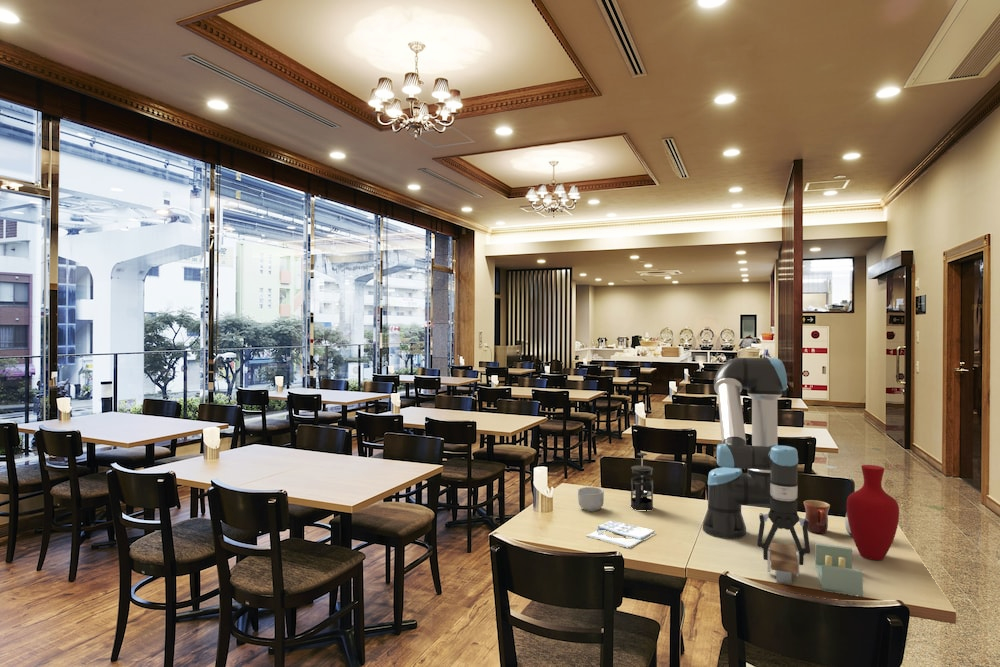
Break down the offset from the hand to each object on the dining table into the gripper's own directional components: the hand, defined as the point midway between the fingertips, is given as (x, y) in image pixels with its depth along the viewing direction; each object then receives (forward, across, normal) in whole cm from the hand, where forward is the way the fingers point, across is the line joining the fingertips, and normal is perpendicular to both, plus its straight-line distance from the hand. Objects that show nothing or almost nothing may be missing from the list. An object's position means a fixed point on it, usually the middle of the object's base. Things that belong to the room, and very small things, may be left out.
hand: (782, 572), depth 179 cm
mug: (+1, +14, +48) cm, 50 cm away
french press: (+1, -51, +51) cm, 72 cm away
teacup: (+2, -71, +43) cm, 83 cm away
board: (-3, 0, 0) cm, 3 cm away
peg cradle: (+1, +15, +4) cm, 16 cm away
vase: (+1, +28, +29) cm, 40 cm away
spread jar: (+2, +29, +51) cm, 59 cm away
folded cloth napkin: (+2, -53, +16) cm, 55 cm away
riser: (+1, 0, 0) cm, 1 cm away
